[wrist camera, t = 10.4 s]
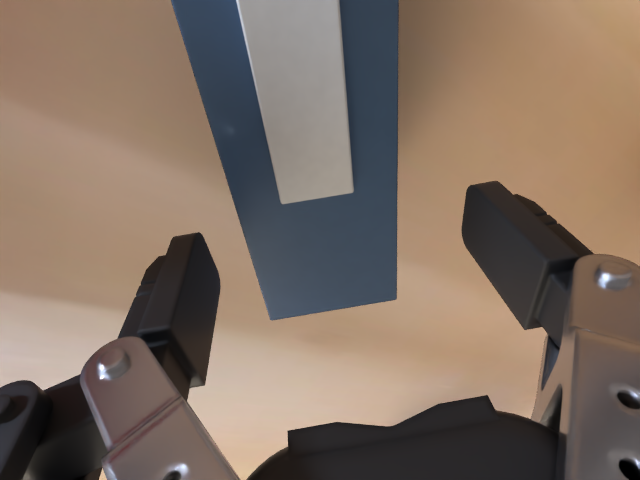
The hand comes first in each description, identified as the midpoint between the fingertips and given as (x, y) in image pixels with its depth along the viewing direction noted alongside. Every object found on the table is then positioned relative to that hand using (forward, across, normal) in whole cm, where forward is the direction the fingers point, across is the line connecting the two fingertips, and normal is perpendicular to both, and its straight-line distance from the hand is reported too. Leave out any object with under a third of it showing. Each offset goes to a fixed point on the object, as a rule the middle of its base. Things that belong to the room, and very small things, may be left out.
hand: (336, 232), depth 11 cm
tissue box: (+9, 0, -2) cm, 9 cm away
